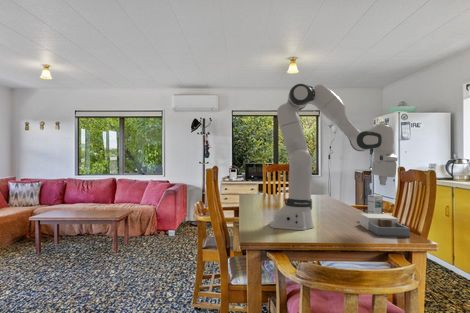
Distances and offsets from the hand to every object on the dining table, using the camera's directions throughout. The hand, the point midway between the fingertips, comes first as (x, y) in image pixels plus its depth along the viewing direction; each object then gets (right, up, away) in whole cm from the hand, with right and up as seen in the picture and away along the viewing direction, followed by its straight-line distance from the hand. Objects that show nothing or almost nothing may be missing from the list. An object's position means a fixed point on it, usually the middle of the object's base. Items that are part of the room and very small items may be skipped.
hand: (382, 185), depth 155 cm
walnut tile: (0, -19, -1) cm, 19 cm away
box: (-1, -22, -7) cm, 23 cm away
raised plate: (0, -22, +5) cm, 23 cm away
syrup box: (+7, -23, +25) cm, 34 cm away
